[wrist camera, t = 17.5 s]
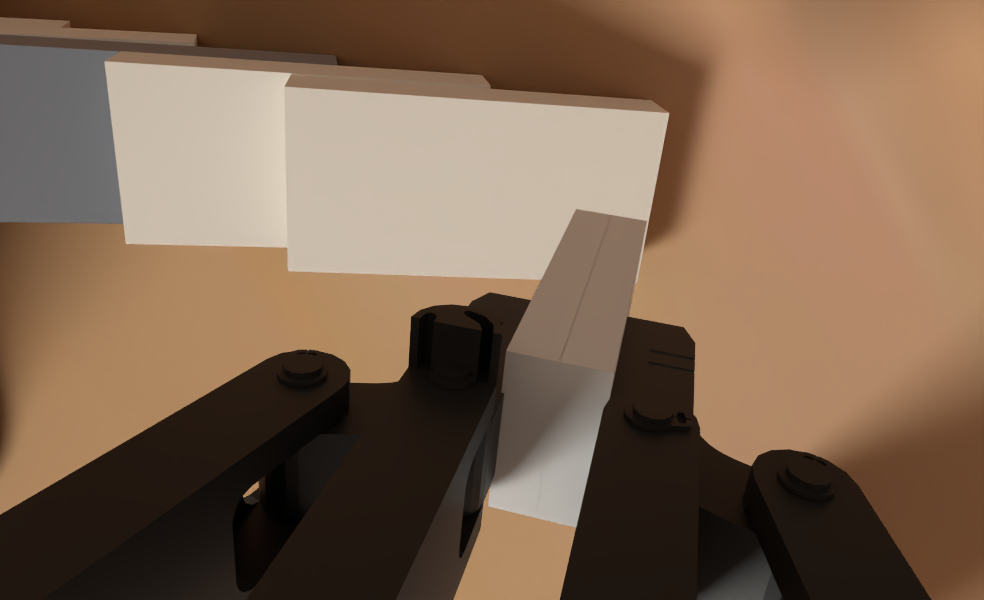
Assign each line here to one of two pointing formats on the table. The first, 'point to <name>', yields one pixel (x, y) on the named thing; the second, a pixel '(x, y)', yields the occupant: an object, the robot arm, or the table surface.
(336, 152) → the domino
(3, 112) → the domino
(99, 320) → the table surface
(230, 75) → the domino
